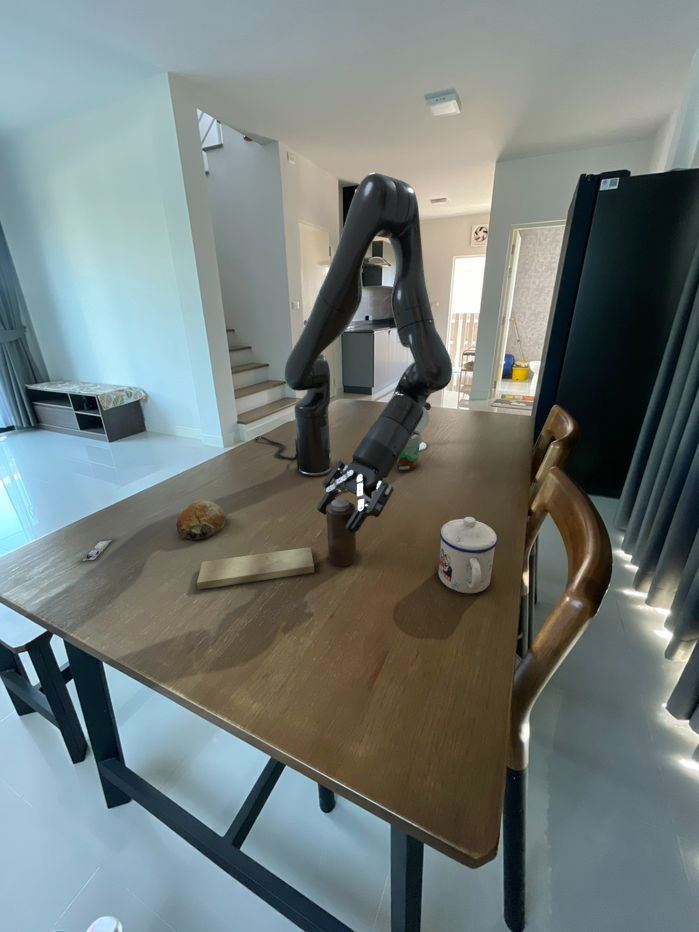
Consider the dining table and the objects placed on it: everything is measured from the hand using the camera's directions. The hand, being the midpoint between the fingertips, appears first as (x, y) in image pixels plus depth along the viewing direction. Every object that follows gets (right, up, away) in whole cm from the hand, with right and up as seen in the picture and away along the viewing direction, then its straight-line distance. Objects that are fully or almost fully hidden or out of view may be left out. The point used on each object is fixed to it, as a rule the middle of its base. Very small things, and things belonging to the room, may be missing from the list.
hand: (334, 521), depth 69 cm
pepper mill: (+1, -8, +4) cm, 9 cm away
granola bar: (-48, -8, +9) cm, 50 cm away
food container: (+21, +10, +45) cm, 51 cm away
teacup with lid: (+23, -10, -3) cm, 25 cm away
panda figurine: (+23, +17, +61) cm, 68 cm away
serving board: (-14, -9, +1) cm, 17 cm away
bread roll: (-30, -4, +15) cm, 34 cm away
